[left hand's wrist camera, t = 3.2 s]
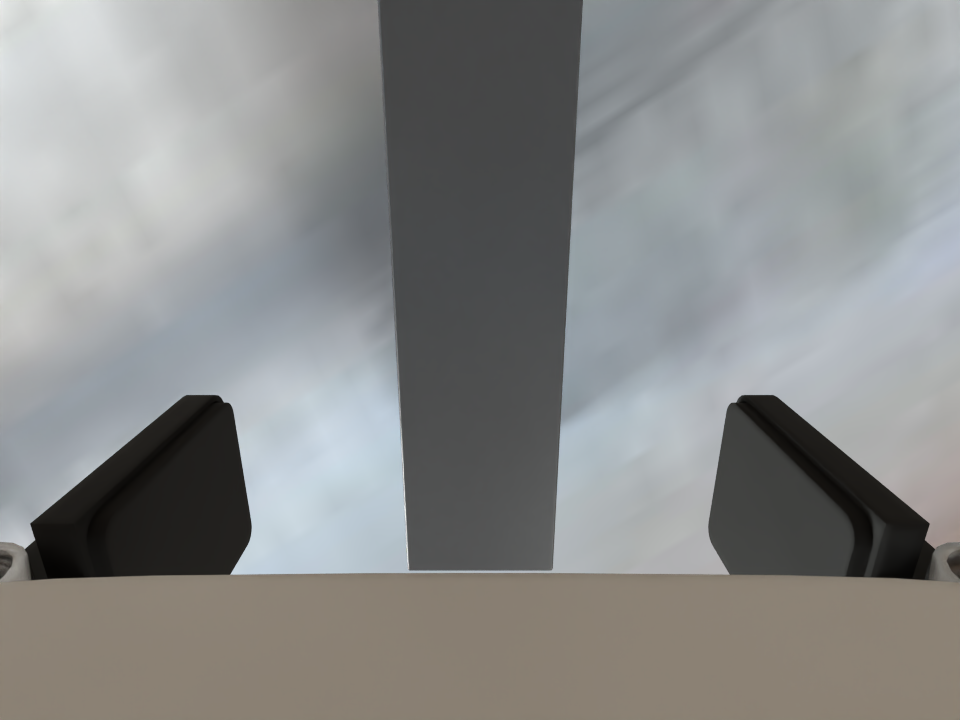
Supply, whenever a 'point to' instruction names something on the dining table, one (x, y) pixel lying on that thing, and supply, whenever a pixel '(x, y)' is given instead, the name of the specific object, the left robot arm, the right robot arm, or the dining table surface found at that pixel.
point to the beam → (480, 268)
